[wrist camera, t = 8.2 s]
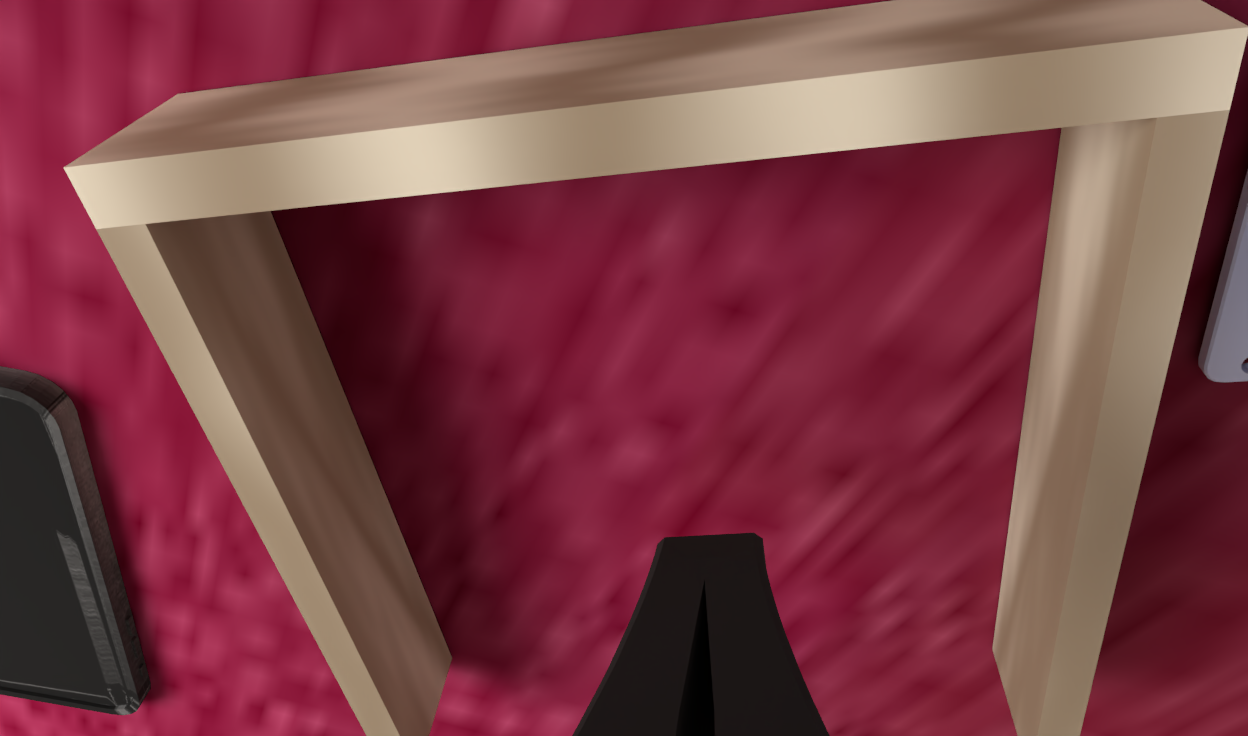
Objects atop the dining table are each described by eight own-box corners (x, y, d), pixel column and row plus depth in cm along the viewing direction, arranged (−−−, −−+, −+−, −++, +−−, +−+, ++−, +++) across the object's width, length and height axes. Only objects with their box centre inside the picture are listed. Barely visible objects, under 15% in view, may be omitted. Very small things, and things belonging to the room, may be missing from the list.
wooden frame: (1141, -32, 16) (1249, 26, 13) (1027, 648, 26) (1070, 776, 23) (177, 93, 19) (63, 167, 16) (423, 658, 29) (385, 772, 26)
